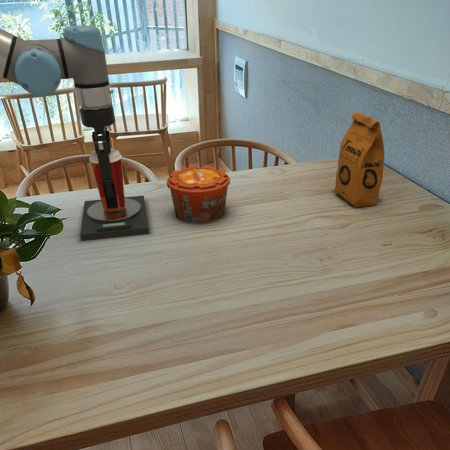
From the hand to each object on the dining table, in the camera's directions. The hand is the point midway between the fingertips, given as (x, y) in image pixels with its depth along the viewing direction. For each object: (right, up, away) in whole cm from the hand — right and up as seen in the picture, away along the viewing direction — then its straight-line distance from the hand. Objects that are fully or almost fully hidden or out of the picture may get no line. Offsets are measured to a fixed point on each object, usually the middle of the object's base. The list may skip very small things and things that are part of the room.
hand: (112, 201), depth 114 cm
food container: (+22, -3, +4) cm, 23 cm away
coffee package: (+65, +3, +11) cm, 66 cm away
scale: (0, -5, +2) cm, 5 cm away
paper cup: (0, -1, +1) cm, 2 cm away
